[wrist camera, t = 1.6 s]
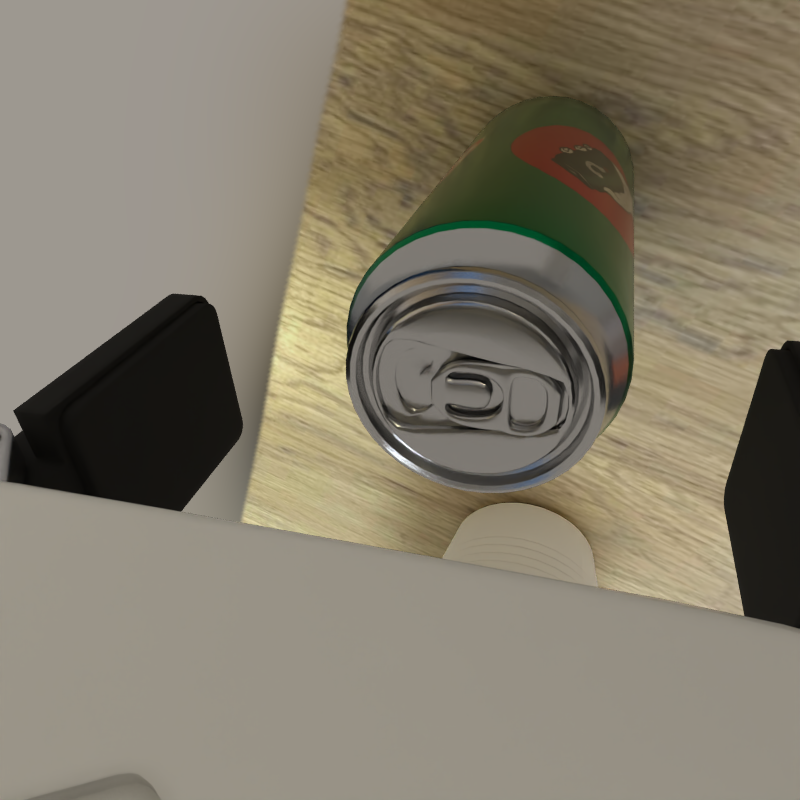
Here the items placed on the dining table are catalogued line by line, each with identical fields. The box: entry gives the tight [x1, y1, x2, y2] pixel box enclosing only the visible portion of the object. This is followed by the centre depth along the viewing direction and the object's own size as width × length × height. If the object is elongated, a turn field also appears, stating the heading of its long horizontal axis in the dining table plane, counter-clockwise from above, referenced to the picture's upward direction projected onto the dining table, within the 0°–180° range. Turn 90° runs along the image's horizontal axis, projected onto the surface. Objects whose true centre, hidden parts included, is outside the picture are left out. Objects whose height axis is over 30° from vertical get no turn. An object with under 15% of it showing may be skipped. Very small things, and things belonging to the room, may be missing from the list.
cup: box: [442, 503, 598, 587], centre depth 25 cm, size 10×10×11 cm
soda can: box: [346, 96, 634, 493], centre depth 15 cm, size 5×5×12 cm
